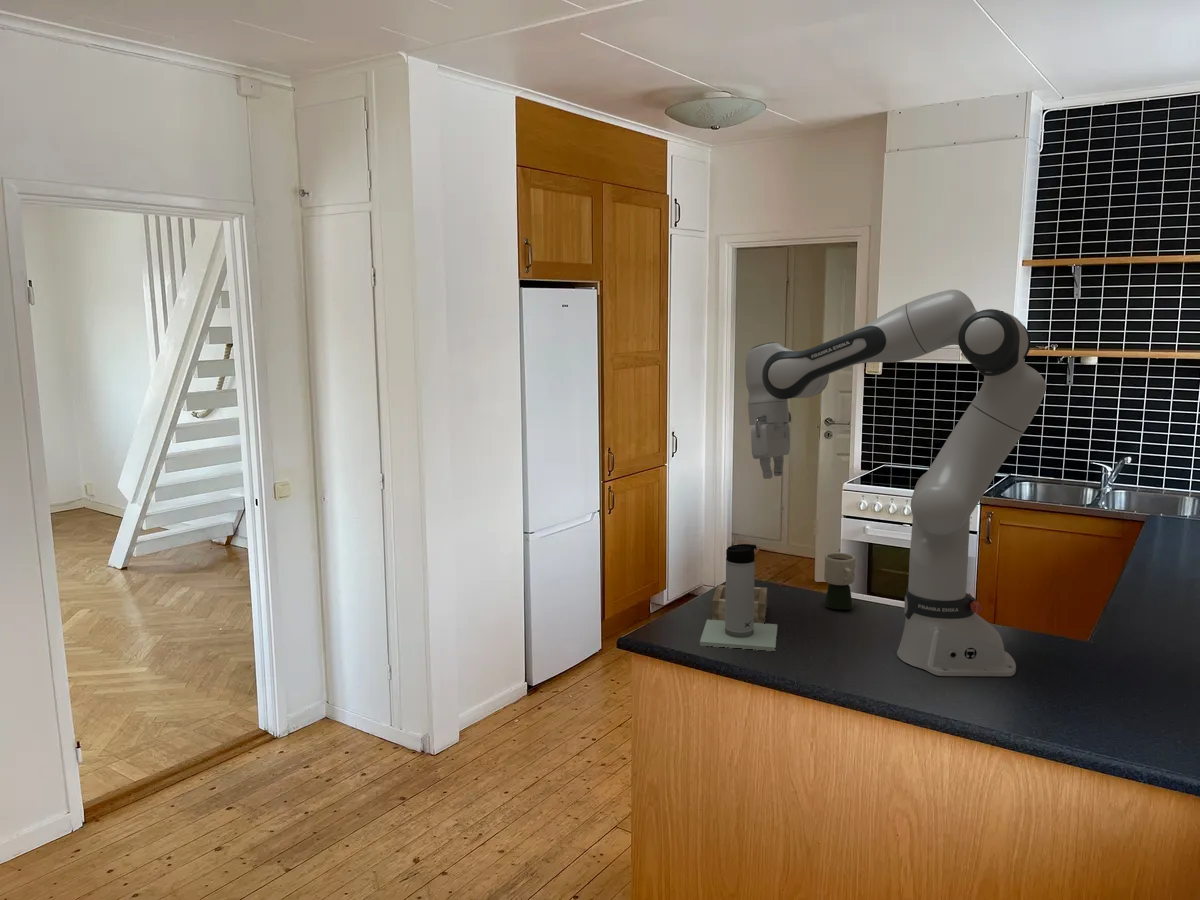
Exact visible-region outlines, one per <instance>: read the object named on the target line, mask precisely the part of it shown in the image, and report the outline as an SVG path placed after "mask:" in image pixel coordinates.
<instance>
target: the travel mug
mask: <svg viewBox="0 0 1200 900" xmlns="http://www.w3.org/2000/svg"><path fill="white" fill-rule="evenodd" d="M757 548H758V547H757V545H756V544H749V543H740V544H739V543H737V544H734V545H730V546H728V547H727V548H726V550H725V551H726V552H725V555H726V558H725V585H726V595H725V632H726V633H727V634H728V635H730V636H733V637H748V636H751V635H752V634H753V633H754V587H755V579H756V578H755V577H756V575H755V573H756V571H755V570H756V568H755V567H756V566H755V565H756V564H755V563H756V558H755V556H756V553H755V551H756V550H758V549H757Z"/></svg>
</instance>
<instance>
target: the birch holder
mask: <svg viewBox="0 0 1200 900" xmlns="http://www.w3.org/2000/svg"><path fill="white" fill-rule="evenodd" d="M725 595H726V584H725V585H723V584H717V585H716V588H715V592H714V595H713V598H712V600H711V601H712V603H711V605H712V606H711V607H712V609H711V613H712V614H711V615H712V616H711V620H721V621H725ZM766 608H767V609H768V587H761V586H759V587H757V586H754V623H765V624H766V617H765V616H766V615H767V609H766Z"/></svg>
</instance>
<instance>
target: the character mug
mask: <svg viewBox="0 0 1200 900" xmlns="http://www.w3.org/2000/svg"><path fill="white" fill-rule="evenodd" d="M855 569H856V556H855V555H853V554H850V553H844V552H830V553H829V552H828V553H827V554H825V555H824V572H823V575H824V576H823V577H824V581H825V582H826V583H827V584H828V586H827V589H826V591H827V593H826V597H825V603H824V604H825V607H827V608H829V609H835V610H840V611H843V610H850V609H852V608H853V603H852V602H853V601H852V592H851V591H852V590H851V585H852V584H853V583H854V582H855V581H856V576H855Z"/></svg>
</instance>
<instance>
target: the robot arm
mask: <svg viewBox="0 0 1200 900" xmlns="http://www.w3.org/2000/svg"><path fill="white" fill-rule="evenodd" d="M949 346H958V347H959V349H960V351H961V353H962V355H963V356H964V358H965V359H966V360H967V361H968V362H969V363H970V364H971V365H972V366H973V367H974V368H975V369H976V370H977V371H978V372H979V373H980V374H981V375H982V376H983V377H984V378H983V382H982V384H981V386H980V389H979V391H978V392H977V393H976V395H975V396H974V398H973V400H972V401H971V403H970V404H969V406H968V407H967V408H966V410H965V411H964V413H963V414H962V416H961V417H960V419H959V421H958V422H957V424H956V425H955V426H954V428H953V430H952V431H951V433H950V434H949V435H948V437H947V438H946V441H945V442H944V444H943V446H942V447H941V449H940V451H939V452H938V453H937V455H936V456H935V459H934V460H933V462H932V463H931V465H930V467H929V468H928V469H927V471H926V472H925V473H923V474H922V475H921V476H920V477H919V479H918V480H917V481H916V484H915V485H914V489H913V493H912V496H911V499H910V511H911V514H912V523H911V525H912V526H911V538H910V548H909V563H908V564H909V565H908V567H909V568H908V570H909V571H908V587H907V588H906V589H905V595H904V610H903V611H904V616H905V620H904V626H903V632H902V634H901V635H902V636H901V639H900V642H899V643H900V644H899V646H898V648H897V651H896V655H897V657H898V658H899V659H900V660H901V661H902V662H904V663H906V664H909V665H910V666H912V667H915V668H919V669H922V670H925V671H927V672H929V673H930V674H933V676H934V675H935V676H939V677H1013V676H1014V675H1015V674H1016V672H1017V664H1016V662H1015V660H1014V658H1013V657H1012V655H1011V654H1010V653H1009V652H1007V651H1006V650H1005V646H1004V642H1003V638H1002V636H1001V635H1000V633H999V632H998V630H997V629H996V628H995V627H994V626H992V625H991V624H990V623H989V622H988V621H986V620H985V619H984V618H983V617H981V615H979V614H980V613H981V612H982V611H983V607H982V604H981V603H980V602H979V601H977V599H976V598H975V597H973V596H972V595H971V594H970V593H968V592H967V582H968V580H967V579H968V565H969V562H968V561H969V545H970V542H969V541H970V529H971V528H970V525H971V515H972V513H974V511H975V509H976V507H977V506H978V504H979V502H980V501H981V500H982V498H983V497H984V495H985V493H986V491H987V490H988V488H989V487H990V484H991V483H992V481H993V480H994V478H995V476H996V474H997V473H998V471H999V469H1000V468H1001V466H1002V465H1003V463H1004V462H1005V460H1006V459H1007V458H1008V456H1009V455H1010V453H1011V452H1012V451H1013V449H1014V448H1015V446H1016V445H1017V443H1018V442H1019V440H1021V439H1020V438H1021V437H1022V436H1023V434H1024V433H1025V431H1026V430H1027V428H1028V427H1029V425H1030V424H1031V422H1032V420H1033V419H1034V417H1035V415H1036V413H1037V411H1038V409H1039V407H1040V406H1041V404H1042V401H1043V398H1044V397H1045V395H1046V391H1047V384H1046V383H1047V382H1046V380H1045V378H1044V377H1043V376H1042V374H1040V372H1039V371H1037V370H1036V369H1035V368H1033V367H1032V366H1030V365H1028V364H1027V363H1026V361H1025V359H1026V357H1027V356H1028V354H1029V353H1030V350H1031V336H1030V332H1029V330H1028V329H1027V328H1026V326H1025V325H1024V324H1022V322H1021V321H1020V320H1019V319H1018V317H1015V315H1012V314H1010V313H1008V312H1005V311H1003V310H999V309H993V308H989V309H983V310H979V311H978V310H977V309H976V307H975V306H974V304H973V302H972V300H971V298H970V297H969V296H968V295H967V294H965V293H964V292H963V291H961V290H958V289H948V290H947V289H946V290H943V291H939V292H936V293H932V294H929V295H925V296H922V297H920V298H917V299H915V300H912V301H910V302H907V303H905V304H902V305H900V306H898V307H896V308H894V309H892V310H891V311H888V312H886V313H884V314H883V315H881V316H879V317H878V318H876V319H874V320H872V321H870V322H868V323H866V324H864V325H862V326H860V327H859V328H856V329H855V330H853V331H851V332H849V333H847V334H846V333H845V334H844V335H842V336H839V337H836V338H833V339H831V340H829V341H826V342H823V343H821V344H817V345H816V346H813V347H811V348H807V349H805V350H797V351H796V350H792V349H790V348H787V347H785V346H783V345H782V344H780V343H779V342H767V343H762V344H759V345H756V346H753V347H751V348H750V350H748V352H747V354H746V358H745V384H746V388H747V391H748V399H747V410H748V411H747V412H748V423H749V426H751V430H750V431H751V432H750V436H751V437H750V438H751V454H752V458H753V459H755V460H759V466H760V468H761V471H762V478H763V479H764V480H770V479H773V475H774V476H775V477H781V476H783V475H784V470H783V468H784V461H785V459H784V456H787V455H789V454H790V448H791V433H790V432H791V429H790V428H791V427H790V423H792V414H791V412H790V411H789V406H788V399H796V398H797V399H804V398H812V397H815V396H817V395H819V394H820V393H822V392H823V391H824V390H825V389H826V387H827V385H828V383H829V380H830V374H832V373H836V372H837V371H840V370H843V369H845V368H848V367H851V366H855V365H860V364H867V363H899V362H904V361H908V360H913V359H916V358H919V357H922V356H924V355H927V354H930V353H931V352H934V351H937V350H939V349H942V348H945V347H949ZM771 458H772V459H773V470H772V466H771V463H772V459H771Z"/></svg>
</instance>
